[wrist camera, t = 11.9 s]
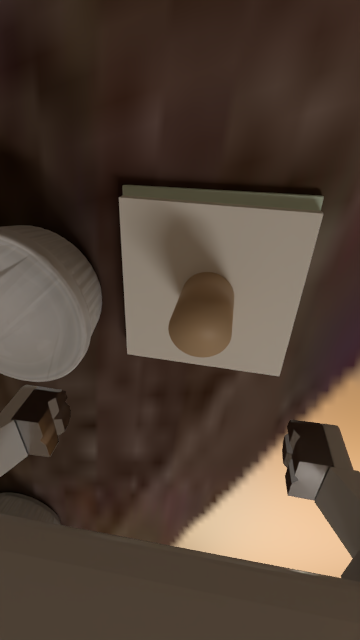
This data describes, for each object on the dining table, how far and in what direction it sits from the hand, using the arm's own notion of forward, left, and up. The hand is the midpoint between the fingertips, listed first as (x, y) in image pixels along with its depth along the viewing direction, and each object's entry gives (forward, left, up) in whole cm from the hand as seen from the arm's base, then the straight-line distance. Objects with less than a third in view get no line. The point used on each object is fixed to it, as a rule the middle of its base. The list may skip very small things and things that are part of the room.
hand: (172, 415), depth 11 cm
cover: (+1, 0, -12) cm, 12 cm away
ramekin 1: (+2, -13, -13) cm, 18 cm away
